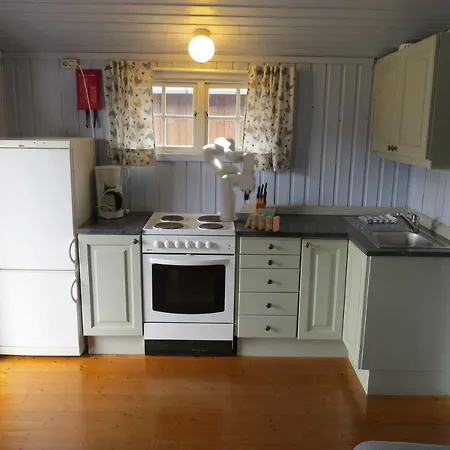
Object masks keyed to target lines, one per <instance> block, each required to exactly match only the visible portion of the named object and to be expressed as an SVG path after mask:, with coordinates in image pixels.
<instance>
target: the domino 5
mask: <svg viewBox="0 0 450 450" xmlns="http://www.w3.org/2000/svg"><path fill="white" fill-rule="evenodd" d="M279 230H280V216H274V218H273V223H272V232H278V231H279Z"/></svg>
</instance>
